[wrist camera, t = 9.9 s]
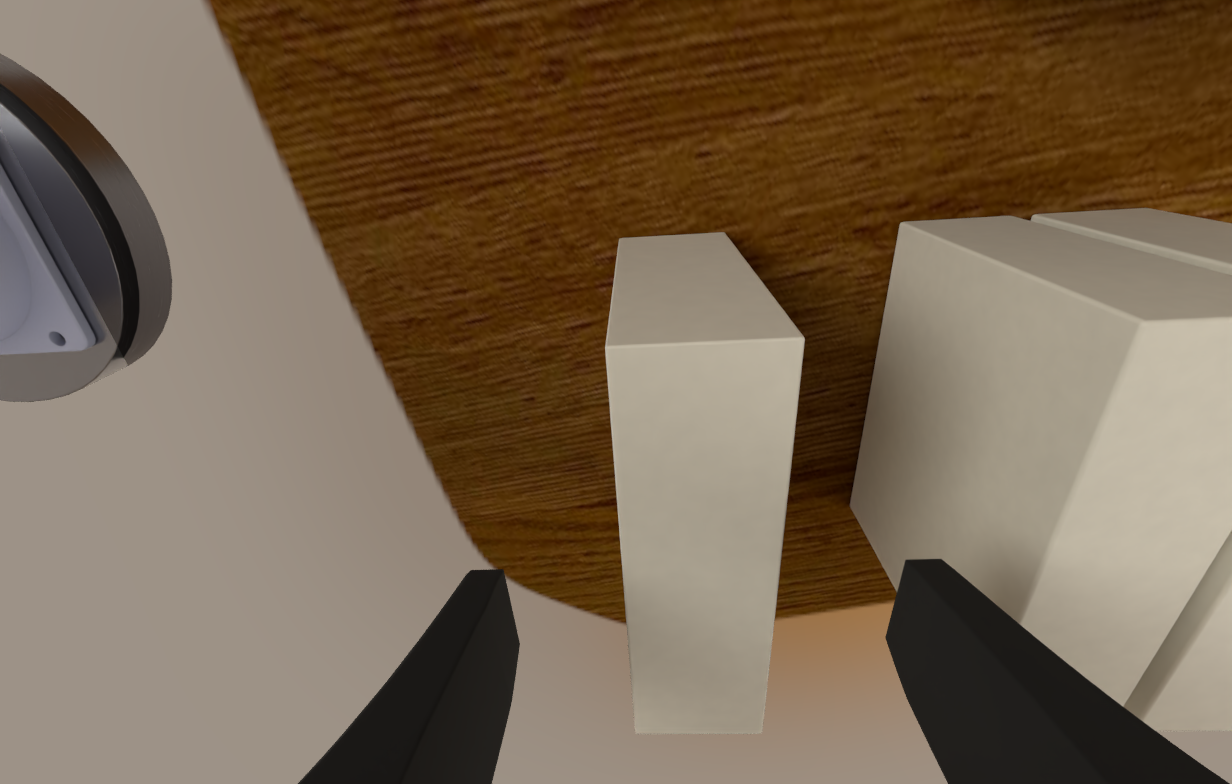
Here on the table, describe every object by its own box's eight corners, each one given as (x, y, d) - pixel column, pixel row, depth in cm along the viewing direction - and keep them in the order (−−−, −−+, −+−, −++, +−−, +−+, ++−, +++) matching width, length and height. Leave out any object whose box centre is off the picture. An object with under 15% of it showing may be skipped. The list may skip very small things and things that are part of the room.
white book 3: (948, 503, 19) (1133, 732, 12) (1030, 214, 14) (1409, 309, 7) (1035, 500, 19) (1274, 732, 12) (1146, 207, 14) (1647, 297, 7)
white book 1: (635, 512, 20) (635, 735, 13) (618, 237, 15) (604, 346, 8) (716, 509, 20) (762, 734, 12) (725, 231, 15) (806, 336, 8)
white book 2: (848, 506, 19) (972, 733, 12) (899, 221, 15) (1144, 321, 8) (933, 503, 19) (1109, 732, 12) (1011, 214, 15) (1370, 311, 7)
